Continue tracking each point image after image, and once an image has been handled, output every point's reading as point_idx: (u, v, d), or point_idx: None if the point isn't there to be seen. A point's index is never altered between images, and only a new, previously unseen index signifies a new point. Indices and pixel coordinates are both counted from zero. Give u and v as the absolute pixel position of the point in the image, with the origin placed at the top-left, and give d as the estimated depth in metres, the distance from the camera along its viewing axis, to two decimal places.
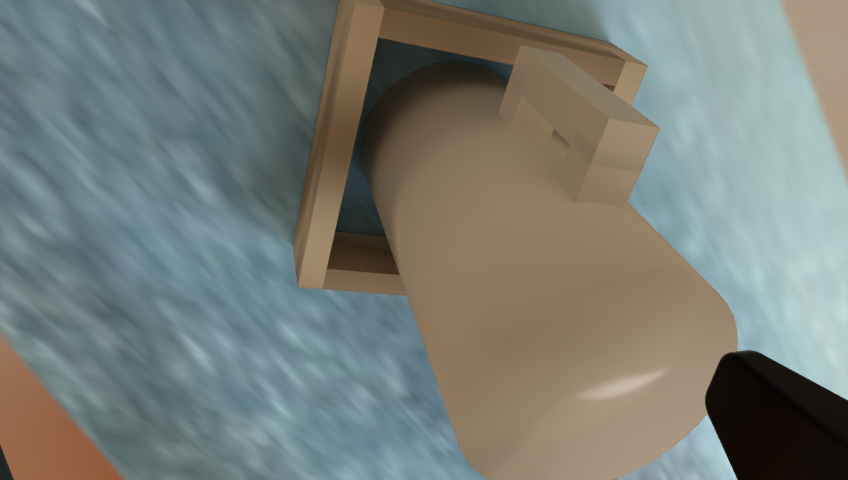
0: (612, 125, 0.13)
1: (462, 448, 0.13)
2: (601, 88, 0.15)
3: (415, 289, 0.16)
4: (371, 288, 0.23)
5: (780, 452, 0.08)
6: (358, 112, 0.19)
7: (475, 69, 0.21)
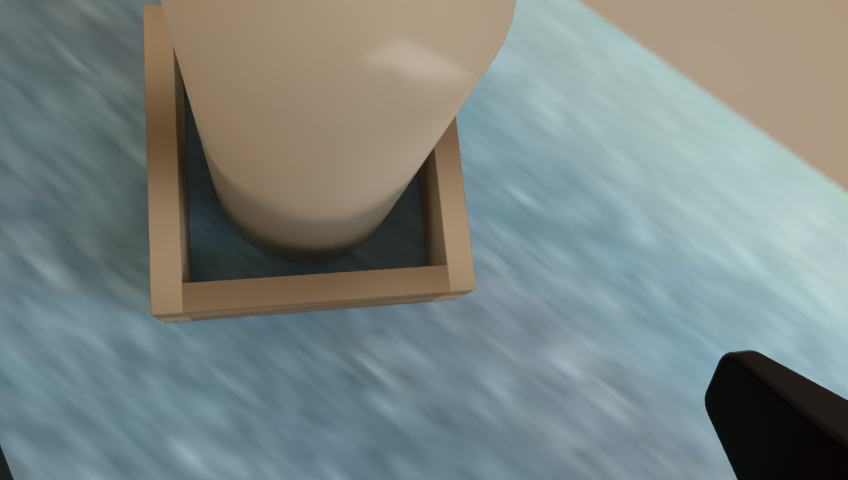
0: None
1: (186, 40, 0.10)
2: None
3: None
4: (244, 301, 0.19)
5: (780, 452, 0.08)
6: (172, 99, 0.19)
7: None
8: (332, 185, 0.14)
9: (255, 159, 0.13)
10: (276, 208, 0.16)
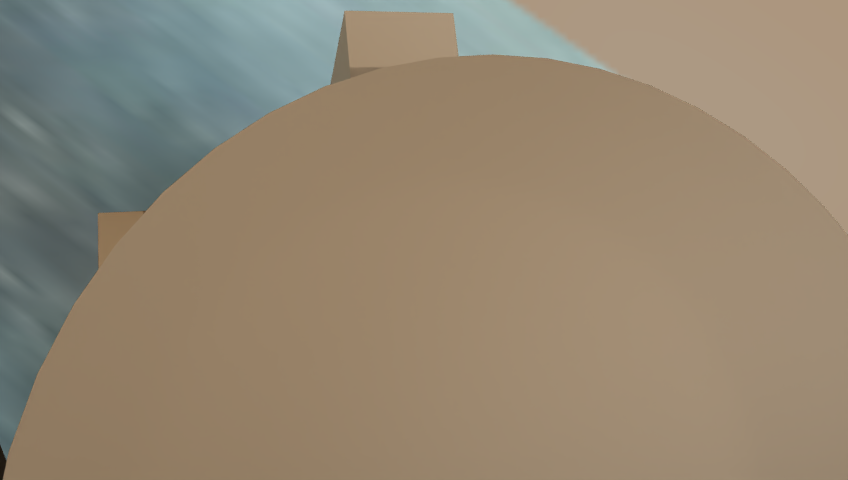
0: (356, 20, 0.07)
1: None
2: None
3: None
4: None
5: None
6: None
7: None
8: None
9: None
10: None
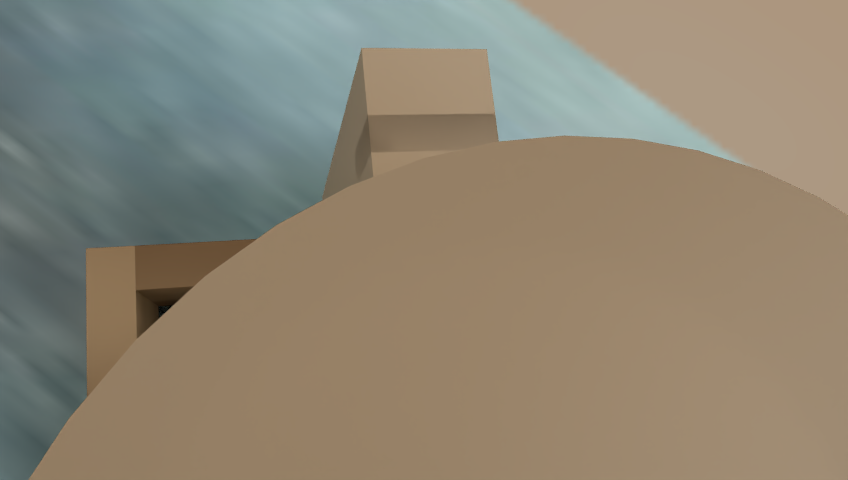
0: (375, 58, 0.06)
1: None
2: None
3: None
4: None
5: None
6: None
7: None
8: None
9: None
10: None
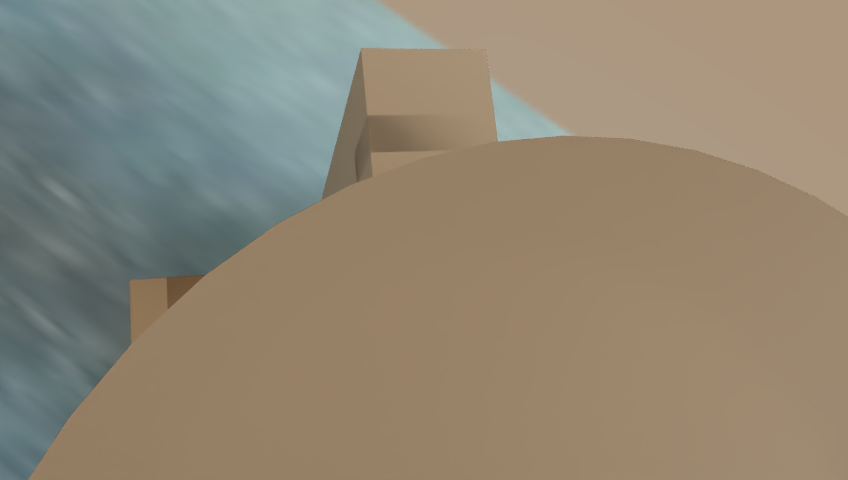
0: (375, 59, 0.06)
1: None
2: None
3: None
4: None
5: None
6: None
7: None
8: None
9: None
10: None
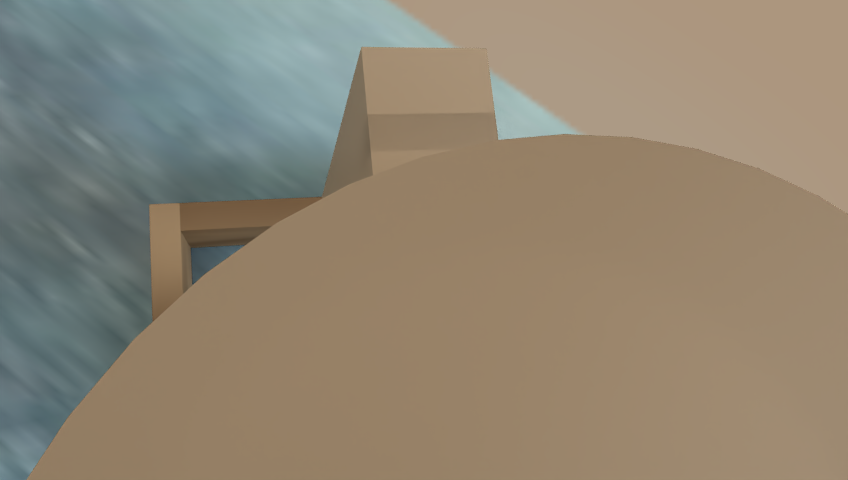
0: (375, 58, 0.06)
1: None
2: None
3: None
4: None
5: None
6: None
7: None
8: None
9: None
10: None
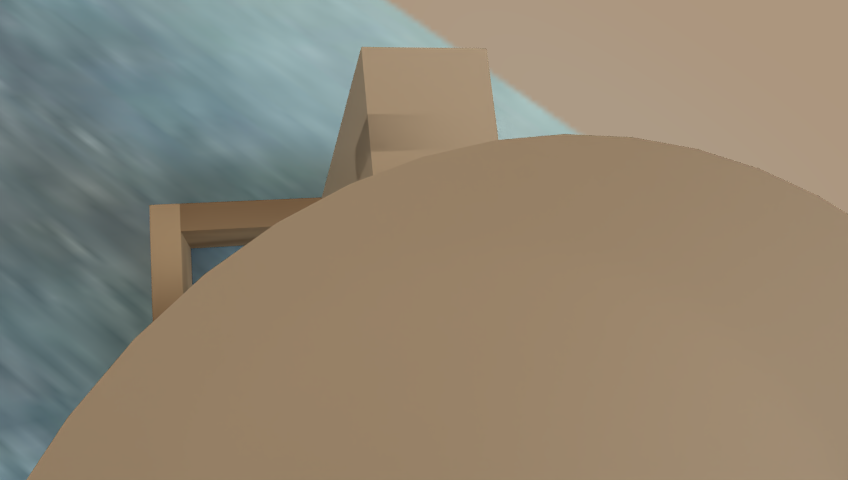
0: (375, 58, 0.06)
1: None
2: None
3: None
4: None
5: None
6: None
7: None
8: None
9: None
10: None
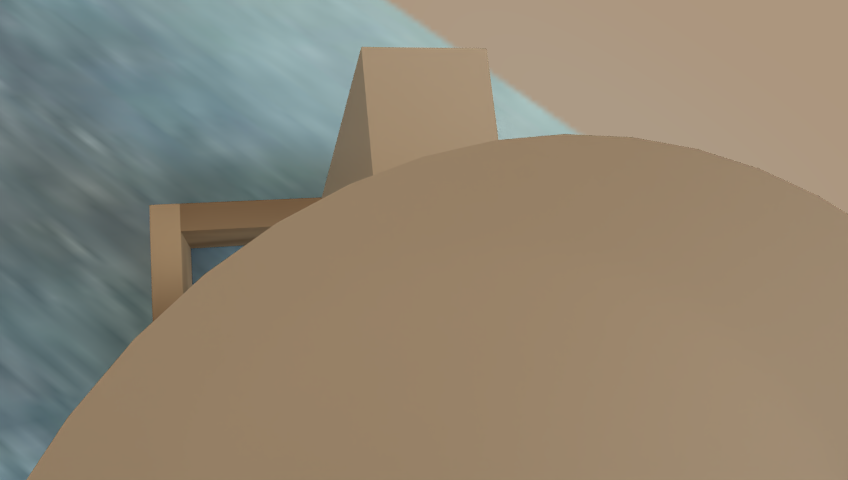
0: (375, 58, 0.06)
1: None
2: None
3: None
4: None
5: None
6: None
7: None
8: None
9: None
10: None
